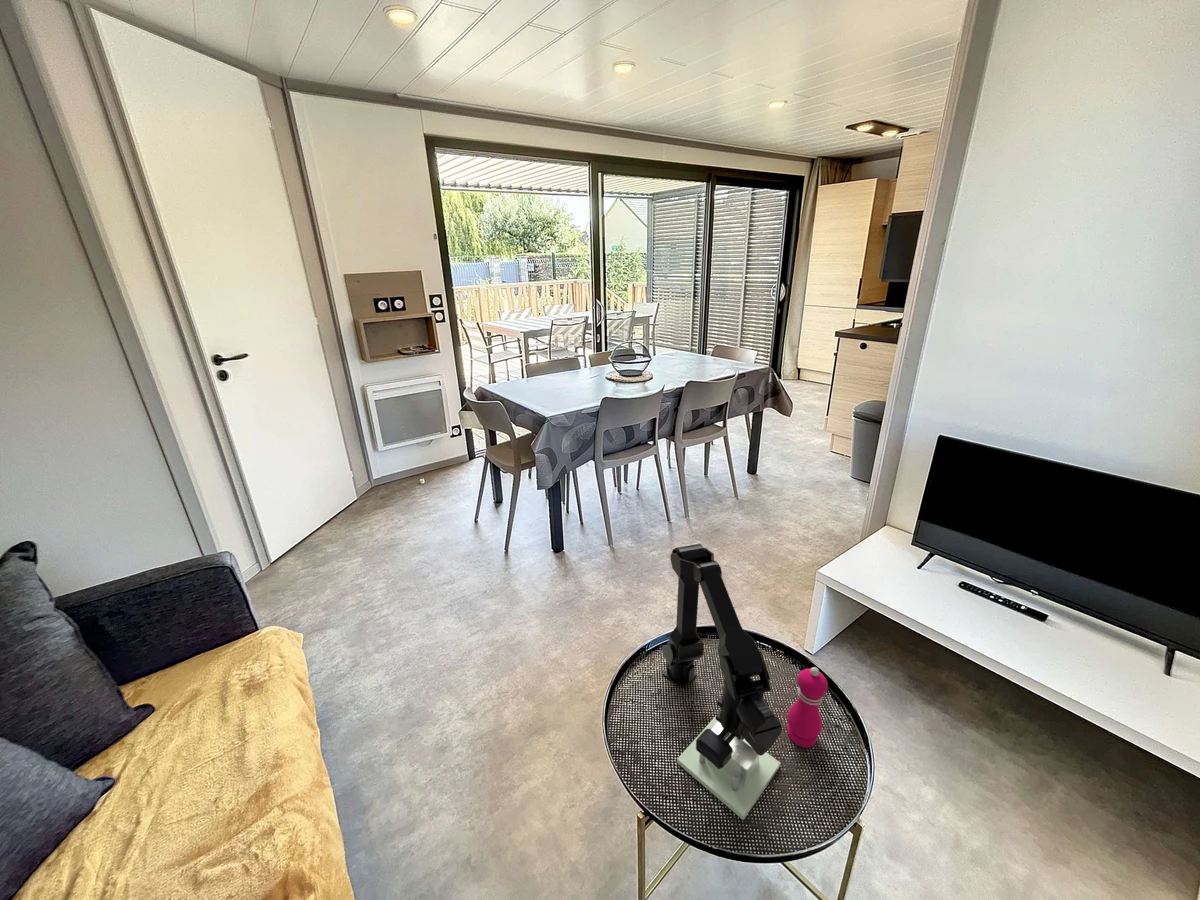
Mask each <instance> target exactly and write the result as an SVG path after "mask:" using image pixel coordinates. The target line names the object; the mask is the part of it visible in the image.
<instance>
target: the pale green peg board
mask: <svg viewBox="0 0 1200 900" xmlns="http://www.w3.org/2000/svg"><path fill="white" fill-rule="evenodd" d="M717 723H719V724H721V723H720V722H719V721H717V720H716V715H715V716H714V718H712V720H711V721H709V723H708V724H707V725H706V726H705V727H704V728H703V730H702V731H701V732H700V733H699V734H698V735H697V736H696V738H695V739H694V740H692V742H691V743H690V744H689V745H688V746H687V747H686V748H685V749H684V751H683V752H682V753H681V754H680V756H678V757H677V758H676V764H678V765H679V767H681V768H683V770H685V771H686V772H687V773H688V774H689V775H691V777H692V778H694V779H695V780H696V781H697V782H699V784H701V785H702V786H703V787H704V788H706V789H707V790H708V791H709V792H710V793H711V794H712V795H713V796H715V797H716V798H717V799H718V800H719V801H720V802H722V803H723V804H724V805H725V806H726V807H727V808H729V809H730V810H731V811H732V812H733V813H735V814H736V815H737V816H738V817H739V818H740V819H741V820H742V821H744V820H745V819H746V817H747V816H748V814H749V812H750V811H751V810H752V808H753V807H754V805H755V804H756V803H757V801H758V799H759V798H760V797H761V795H762V793H764V791H765V789H766V788H767V786H768V784H769V783H770V782H771V781H772V779H773V778H774V776H775V775H776V773H777V772H778V770H779V768H780V767H781V762H780V761H779V760H777V759H776V758H775V757H773V756H772V755H771V754H770V753H768V751H767V752H766V753H765V754H764V755H762V756H761V755H759V760H758V766H757V770H756V772H755V773H754V775H753V776H752V777H751V779H750V780H749V782H748V783H747V784H746V786H745V787H744V786H743V785H741V784H740V783H739V780H740V779H739V777H738V776H736V775H735V776H734V777H732V776H730V775H729V774H728V773H727V772H725V771H724V770H723V769H722V768H720V770H719V769H717V768H716V767H715V766H714V764H713V763H712V762H710V761H709V760H708V759H707V758H705V757H704V756H703V755H702V754H701V753H699V752H698V751H697V750H696V740H697V738H698V737H699V736H700V735H701V734H702V733H703V732H704V731H705V730H706V729H711V730H712V729H713V728H714V726H715V725H716V724H717ZM742 741H744V742H745V743H746V744H748V742H747V741H746V740H745V739H744V740H742ZM748 745H749V744H748ZM749 746H750V745H749ZM750 747H751V746H750Z"/></svg>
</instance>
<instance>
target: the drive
mask: <svg viewBox="0 0 1200 900" xmlns="http://www.w3.org/2000/svg"><path fill="white" fill-rule="evenodd" d="M723 729H724V728H723V727H722V725H721V724H719V723H717V724H716V725H715V726H714V728H713V729H712V731H714V732H715V733H716V734H717V735H719V733H720V732H721V731H722V730H723ZM730 734H731V733H730ZM728 737H729V736H728ZM730 746H731V748H732V749H733V752H732V755H731V756H732V757H731V758H730V760H729V761H728V762H727V764H726V765H725V766H724V767H723V768H722V769H723V770H724V771H725V772H727V773H728V774H729V775H730V776H732V777H734V776H735V775H736V776H738V777H739V779H740V780H739V783H740V784H741V785H743V786H744V787H745V786H746V784H747V783H748V782H749V780H750V779H751V777H752V776H753V775H754V773H755V772H756V770H757V766H758V760H759V755H758V754H757V753H756V752H755V750H754V749H753V748H752V747H750V746H749V745H748V744H746V743H745V742H744V741H742V740H739V739H738V738H737V737H735V738H734V739H733V740H732V741H731V743H730Z"/></svg>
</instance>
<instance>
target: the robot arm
mask: <svg viewBox="0 0 1200 900" xmlns="http://www.w3.org/2000/svg"><path fill="white" fill-rule="evenodd" d="M669 558H670V563H671V568H672V570H673V571H674V573H675V574H676V576H677V579H678V580H677V581H678V583H677V584H678V585H677V602H676V603H677V604H676V605H677V606H676V610H677V611H676V623H675V624H676V625H675V627H674V628H673V630H672V632H671V633H670V634H669V637H668V642H667V644H663V645H661V651H662V653H661V654H662V655H663V656H664V659H665V661H666V669H664V671H662V675H663V676H664V677H665V678H667V679H669V680H670V681H671V682H672V683H674V685H677V686H678V687H679V688H680V689H681V688H684V687H686V685H687V684H689V683H690V682H691V681H692V680H694V679H695V677H696V676H697V671H696V666H695V661H696V660H700V659H701V658H702V657H703V656H704V643H703V640H702V639H701V638H700V637H701V636H699V634H698V632H697V626H698V625H697V624H698V623H697V622H698V609H699V591H700V588H701V591H702V594H703V596H704V599H705V602H706V605H707V607H708V611H709V613H710V616H711V618H712V621H713V624H714V626H715V629H716V632H717V634H718V639H719V640H718V646H717V653H718V654H717V655H718V656H719V667H720V669H721V672H722V675H723V678H724V679H723V686H722V695H721V697H720V698H719V699H718V700H717V702H716V705H717V706H718V707H720V710H719V712H718V713H716V715H715V716H716V720H717V721H719V722H720V723H721V725H722V727H723V728H724V729H723V730H722V731H721V732H720V733H719V735H717V734H716V733H715V732H714V731H712V730H711V729H706V730H705V731H704V732H703V733H702V734H701V735H700V736H699V737H698V738H697V740H696V750H697V751H698V752H699V753H701V754H702V755H703V756H704V757H705V758H707V759H708V760H709V761H710V762H712V763H713V764H714V766H715V767H716V768H717V769H719V770H720V768H723V767H724V766H725V765H726V764H727V762H728V761H729V760H730V758H731V757H732V756H731V755H732V752H733V749H732V748H731V746H730V743H731V741H732V740H733V739H734V738H735V737H737V738H738V739H739V740H744V739H745V740H746V741H747V742H748V744H749V745H750V746H751V747H752V748H753V749H754V750H755V752H756V753H757V754H758V755H761V756H762V755H764V754H765V753H766V752H767V753H768V751H769V750H770V749H771V748H772V747H773V745H774V743H776V741H777V739H778V738H779V736H780V735H781V733H782V732H783V727H782V724H781V722H780V718H778V716H777V715H775V714H774V712H773V710H772V709H771V707H769V706H770V705H769V703H768V701H767V700H766V698H764V693H767V692H772V689H771V684H770V680H771V677H770V675H769V671H768V667H767V665H766V661H765V659H764V656H763V654H762V651H761V650H760V649H759V648H758V645H757V643H756V641H755V639H754V638H753V637H752V636H751V635H750V634H749V633H747V632H746V631H745V630H744V629H743V626H742V625H741V622H740V620H739V617H738V615H737V612H736V609H735V607H734V604H733V603H732V600H731V597H730V595H729V592H728V590H727V586H726V585H725V582H724V580H723V577H722V576H723V575H722V574H723V573H722V568H721V565H720V563H719V562H718V561H716V560H715V553H714V552H712V551H711V550H710V549H708V548H707V547H704V545H703V544H702V543H695V544H690V545H685V546H683V545H682V546H678V547H677V546H676V547H675V548H673V549H672V551H671V553H670V557H669ZM756 676H758V677H759V679H757V680H756V679H755V680H753V678H752V677H756ZM730 733H731V734H730ZM728 736H729V737H728Z"/></svg>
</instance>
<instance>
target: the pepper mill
mask: <svg viewBox="0 0 1200 900" xmlns="http://www.w3.org/2000/svg"><path fill="white" fill-rule="evenodd" d="M796 680H797V685H798V686H797V687H798V688H797V696H798V698H797V701H795V703H793V704H792V705H791V706H790V708H789V709H788V712H787V715H786V717H787V718H786V720H787V728H786V732H787V735H788V737H789V739H790V740H791V741H792V742H793V743H794V744H796V745H797V746H799V747H802V748H811V747H813V746H815V744H816V743H817V738H818V736H819V735H820V734H821V733H822V729H823V720H822V716H821V713H820V712H819V705H820V704H822V702H823V698H824V696H825V695H826V693H827V692H828V686H829V684H828V681H827V679H826V677H825V676H824V674H823V673H822V672H820V669H818V668H817V667H816V666H814V667H813V666H812V667H811V668H809V667H808V668H804V669H802V670H801V671H800V672H799V673H798V675H797V679H796Z"/></svg>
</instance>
